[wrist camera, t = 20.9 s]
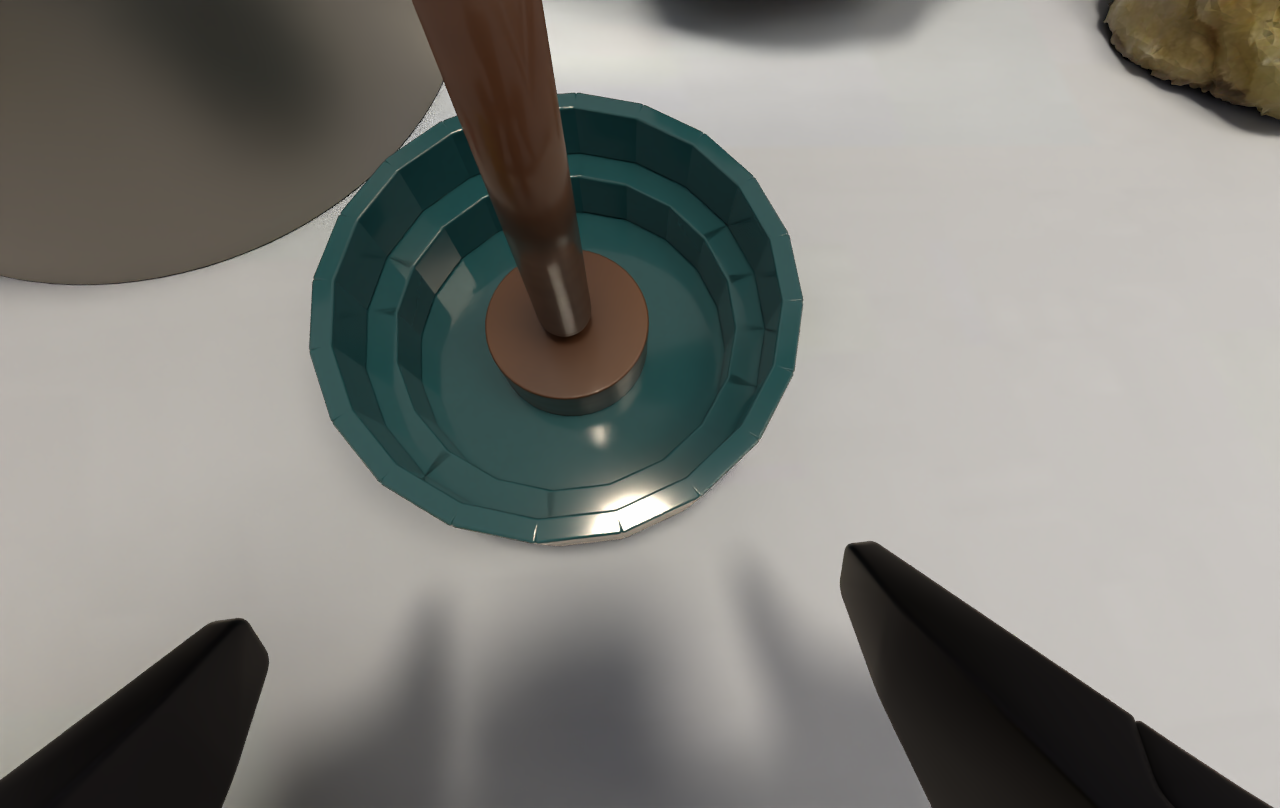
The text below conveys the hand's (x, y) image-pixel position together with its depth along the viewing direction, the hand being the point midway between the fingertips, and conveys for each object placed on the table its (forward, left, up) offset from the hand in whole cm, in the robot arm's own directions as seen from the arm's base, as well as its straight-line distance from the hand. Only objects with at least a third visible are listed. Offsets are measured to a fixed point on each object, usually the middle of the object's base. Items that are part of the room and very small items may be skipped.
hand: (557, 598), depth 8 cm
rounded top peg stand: (+7, -2, -8) cm, 11 cm away
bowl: (+7, -2, -9) cm, 12 cm away
